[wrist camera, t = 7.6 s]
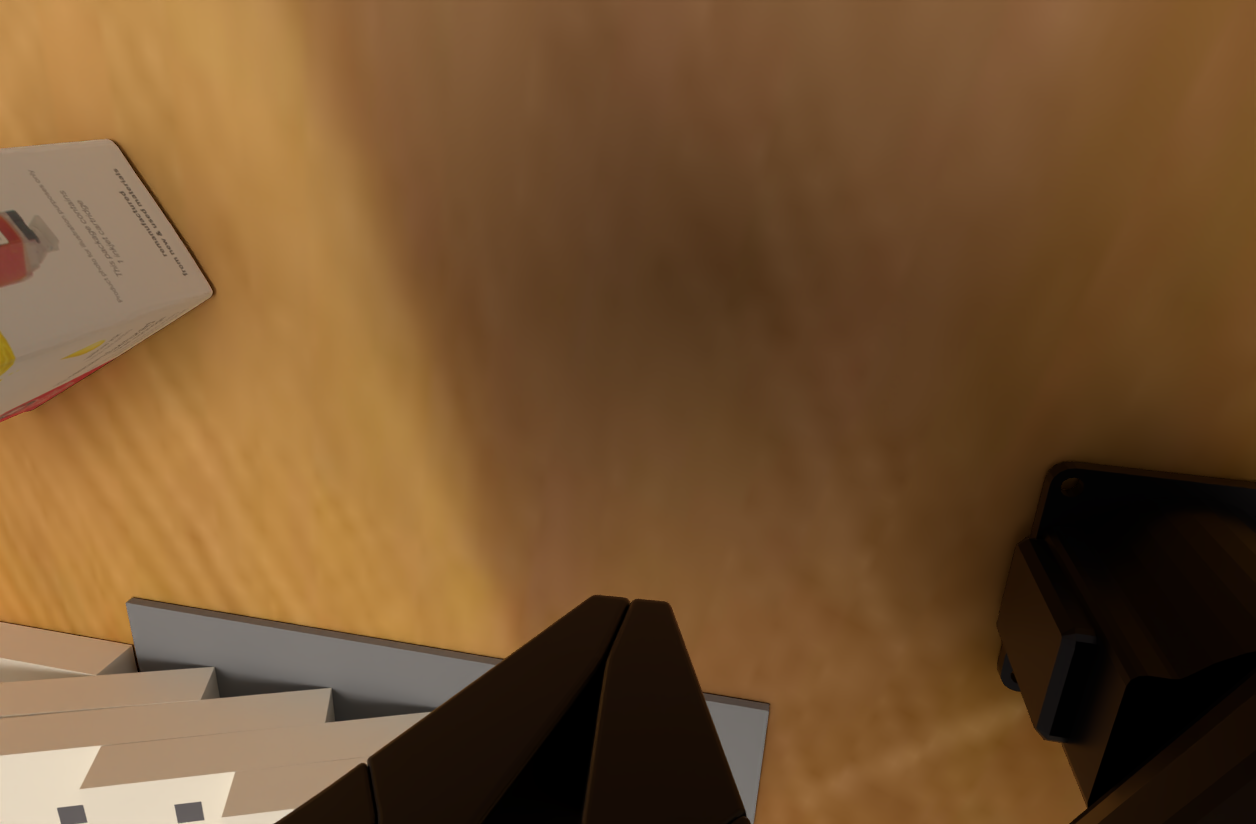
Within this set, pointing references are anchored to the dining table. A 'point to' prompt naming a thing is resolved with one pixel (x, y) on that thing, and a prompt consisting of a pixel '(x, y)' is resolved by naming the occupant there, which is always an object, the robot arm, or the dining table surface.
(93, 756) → the tile
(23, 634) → the tile
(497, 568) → the dining table surface
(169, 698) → the tile
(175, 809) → the tile
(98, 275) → the ink box
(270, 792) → the tile
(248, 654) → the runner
